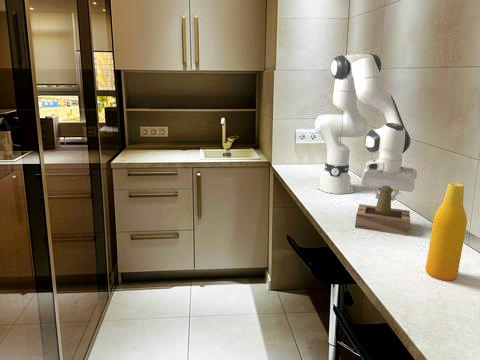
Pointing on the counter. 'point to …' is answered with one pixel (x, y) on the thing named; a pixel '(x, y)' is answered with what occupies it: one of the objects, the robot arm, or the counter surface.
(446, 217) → the beer bottle
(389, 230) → the well block
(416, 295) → the counter surface
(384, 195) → the cork
